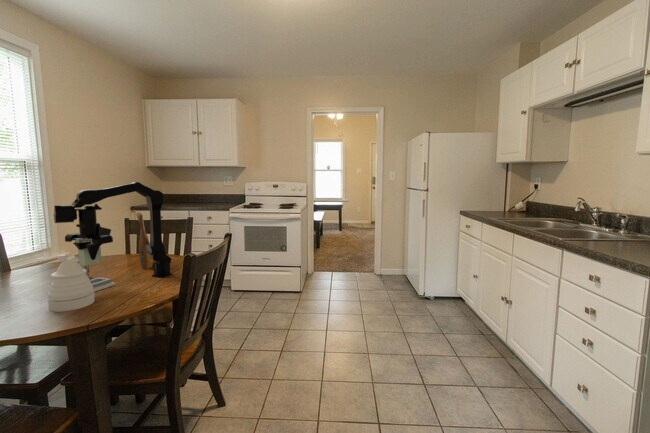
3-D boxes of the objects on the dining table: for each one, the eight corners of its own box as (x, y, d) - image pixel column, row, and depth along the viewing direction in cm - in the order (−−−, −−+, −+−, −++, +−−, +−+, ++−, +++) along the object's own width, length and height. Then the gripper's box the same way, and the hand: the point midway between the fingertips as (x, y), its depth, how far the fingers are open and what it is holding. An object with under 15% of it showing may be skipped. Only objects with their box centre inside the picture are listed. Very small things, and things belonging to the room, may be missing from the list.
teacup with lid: (87, 281, 141) (85, 255, 140) (61, 283, 138) (59, 256, 136) (94, 273, 152) (92, 249, 151) (70, 275, 149) (68, 251, 147)
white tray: (114, 284, 137) (114, 279, 136) (86, 294, 125) (86, 288, 125) (96, 282, 139) (96, 276, 139) (67, 291, 128) (67, 285, 128)
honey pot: (42, 313, 107) (37, 260, 105) (56, 300, 118) (52, 252, 116) (89, 308, 112) (85, 257, 110) (98, 296, 124) (95, 249, 122)
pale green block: (84, 265, 127) (83, 250, 127) (79, 264, 128) (78, 249, 128) (101, 261, 134) (100, 247, 133) (95, 260, 135) (95, 246, 134)
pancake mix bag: (137, 271, 158) (134, 214, 155) (138, 262, 175) (136, 210, 172) (153, 269, 161) (150, 213, 158) (152, 260, 178) (150, 210, 175)
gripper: (123, 220, 134) (125, 256, 136) (89, 218, 140) (92, 253, 141) (98, 223, 124) (100, 263, 125) (62, 221, 129) (65, 259, 131)
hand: (90, 259), depth 131 cm, fingers closed on pale green block, 3 cm apart
